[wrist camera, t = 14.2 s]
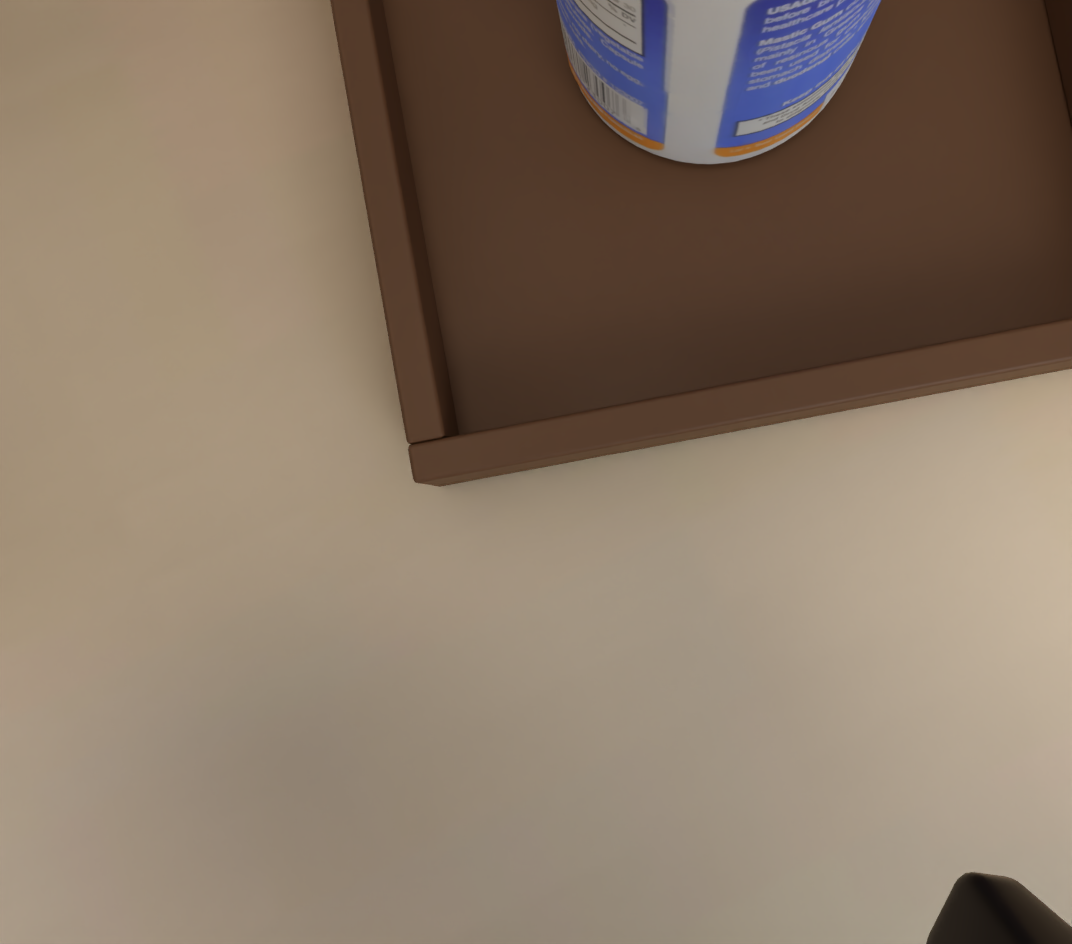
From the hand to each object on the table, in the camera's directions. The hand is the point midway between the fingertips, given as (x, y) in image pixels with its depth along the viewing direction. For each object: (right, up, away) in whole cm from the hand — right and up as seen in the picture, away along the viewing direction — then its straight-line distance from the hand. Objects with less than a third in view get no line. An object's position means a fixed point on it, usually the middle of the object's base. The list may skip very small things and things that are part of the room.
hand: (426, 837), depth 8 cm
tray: (+4, +11, +11) cm, 17 cm away
